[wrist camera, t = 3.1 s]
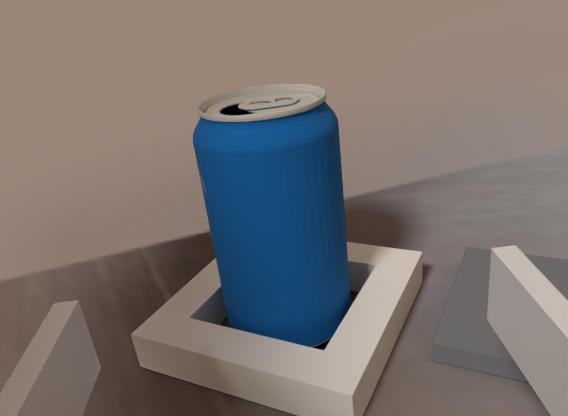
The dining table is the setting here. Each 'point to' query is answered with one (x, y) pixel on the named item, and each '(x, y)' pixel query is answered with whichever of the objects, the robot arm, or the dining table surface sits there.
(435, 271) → the dining table surface
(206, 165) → the beverage can
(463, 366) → the coaster
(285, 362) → the can holder
